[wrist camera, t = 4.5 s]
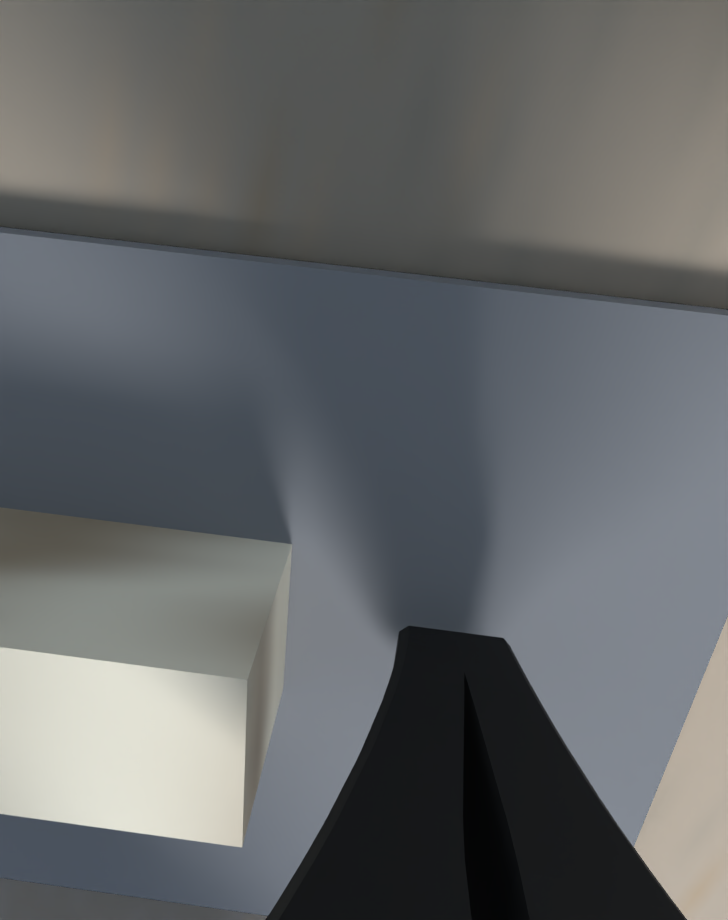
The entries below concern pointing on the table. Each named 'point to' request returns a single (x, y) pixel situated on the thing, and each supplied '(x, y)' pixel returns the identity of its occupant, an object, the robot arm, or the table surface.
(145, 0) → the table surface
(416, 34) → the table surface
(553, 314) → the felt mat
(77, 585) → the cream rectangular block
